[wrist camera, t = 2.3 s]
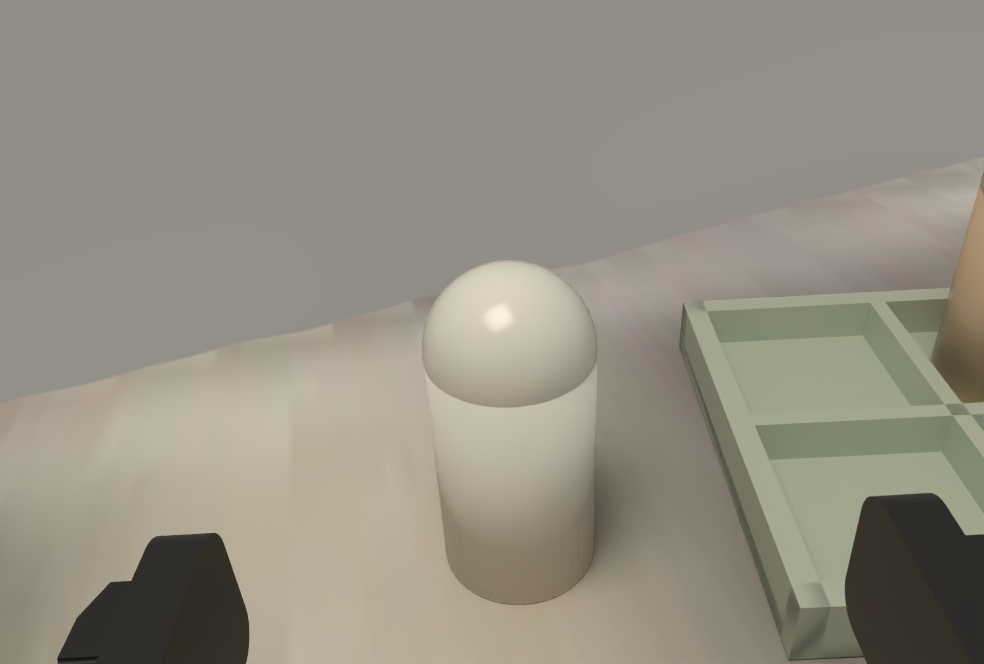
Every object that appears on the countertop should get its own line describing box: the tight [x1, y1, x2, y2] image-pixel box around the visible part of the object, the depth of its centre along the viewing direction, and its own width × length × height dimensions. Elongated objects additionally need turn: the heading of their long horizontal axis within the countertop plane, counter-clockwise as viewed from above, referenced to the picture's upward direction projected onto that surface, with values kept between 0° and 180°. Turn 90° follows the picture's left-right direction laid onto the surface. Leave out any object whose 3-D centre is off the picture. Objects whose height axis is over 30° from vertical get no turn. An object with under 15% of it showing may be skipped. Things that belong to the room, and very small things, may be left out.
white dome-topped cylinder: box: [422, 260, 597, 605], centre depth 25 cm, size 5×5×10 cm
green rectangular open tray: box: [679, 288, 984, 660], centre depth 29 cm, size 15×15×2 cm
